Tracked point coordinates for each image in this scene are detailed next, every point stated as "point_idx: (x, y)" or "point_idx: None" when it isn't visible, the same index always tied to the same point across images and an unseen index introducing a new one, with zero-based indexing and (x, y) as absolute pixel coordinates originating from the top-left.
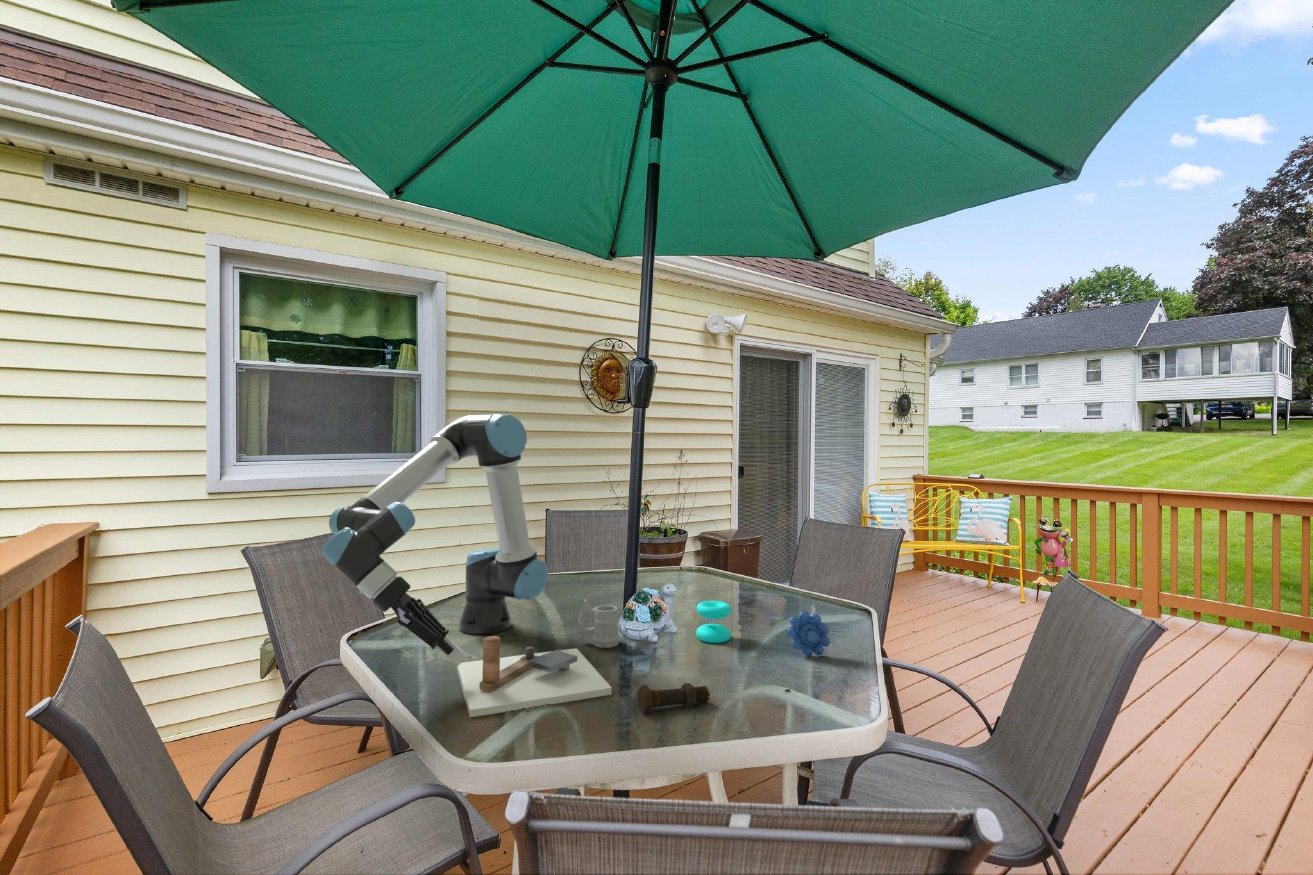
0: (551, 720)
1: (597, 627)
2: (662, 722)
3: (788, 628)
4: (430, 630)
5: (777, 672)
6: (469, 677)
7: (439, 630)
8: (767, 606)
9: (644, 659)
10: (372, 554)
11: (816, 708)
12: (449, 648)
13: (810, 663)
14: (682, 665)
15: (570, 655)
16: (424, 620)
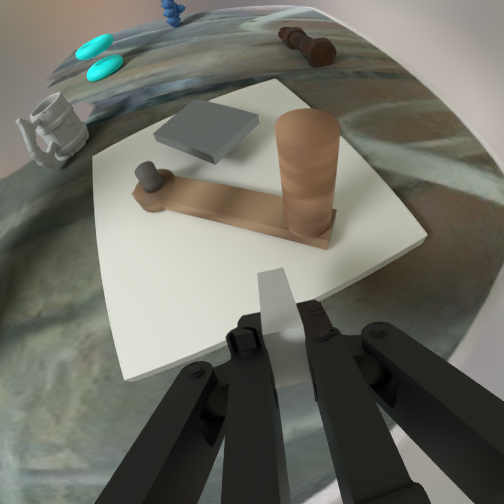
0: (383, 127)
1: (63, 128)
2: (344, 56)
3: (167, 10)
4: (426, 365)
5: (210, 27)
6: (233, 311)
7: (268, 376)
8: (49, 79)
9: (147, 91)
10: None
11: (286, 14)
12: (322, 309)
13: (192, 23)
14: (178, 64)
15: (189, 107)
16: (392, 455)
